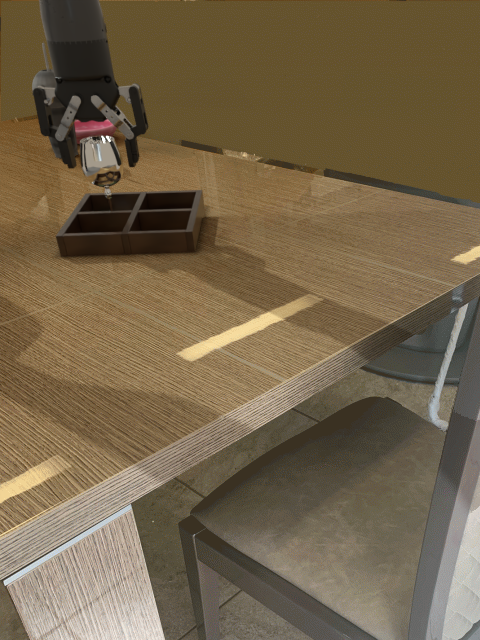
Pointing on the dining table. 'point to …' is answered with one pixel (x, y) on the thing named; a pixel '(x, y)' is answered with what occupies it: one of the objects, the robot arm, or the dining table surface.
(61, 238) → the tray
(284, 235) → the dining table surface
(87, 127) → the pink round shallow bowl
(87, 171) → the wineglass
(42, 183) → the dining table surface
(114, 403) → the dining table surface
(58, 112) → the beverage cup
